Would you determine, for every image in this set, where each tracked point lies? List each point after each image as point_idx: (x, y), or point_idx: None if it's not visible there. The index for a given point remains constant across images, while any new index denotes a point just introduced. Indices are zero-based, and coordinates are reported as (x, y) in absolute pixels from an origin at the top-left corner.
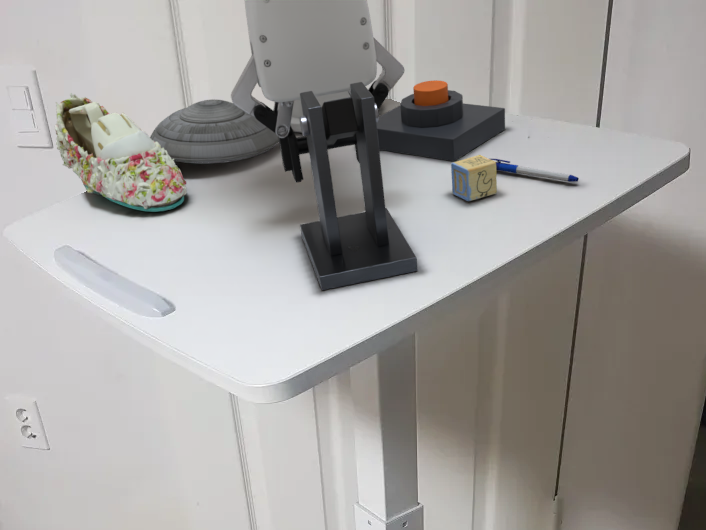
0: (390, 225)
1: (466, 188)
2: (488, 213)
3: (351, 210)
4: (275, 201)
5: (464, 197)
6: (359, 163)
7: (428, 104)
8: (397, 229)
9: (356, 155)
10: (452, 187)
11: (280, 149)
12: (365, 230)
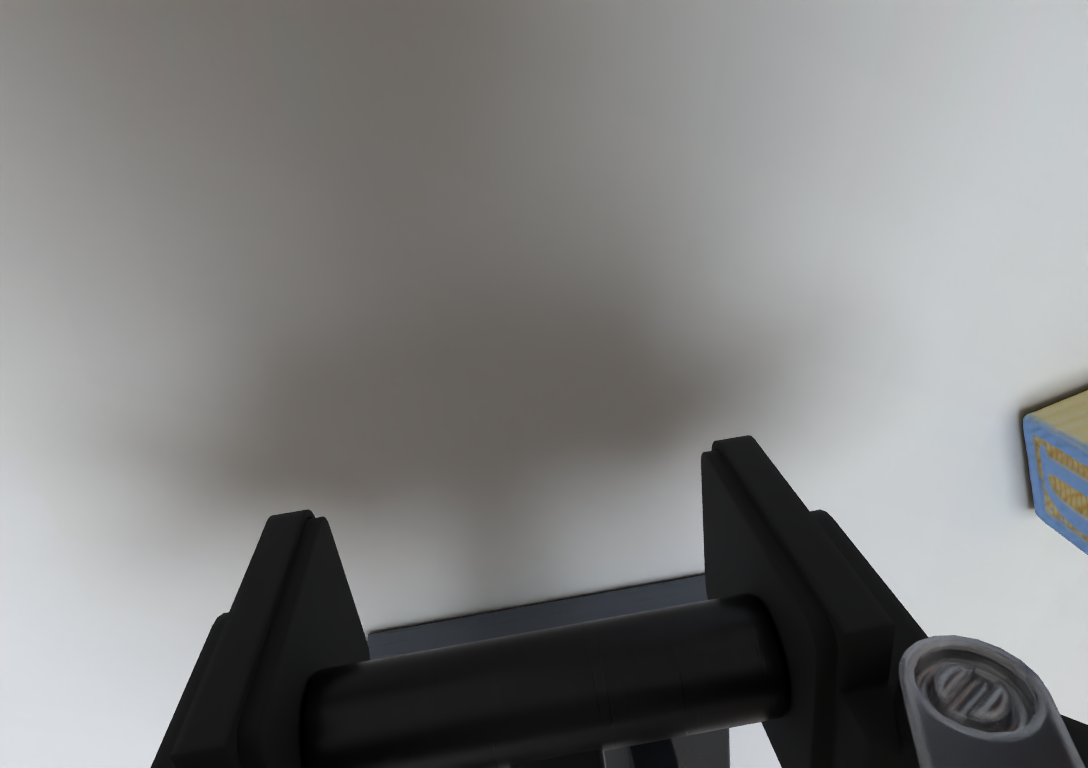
0: (707, 739)
1: (1073, 528)
2: (1045, 593)
3: (580, 447)
4: (158, 217)
5: (1038, 494)
6: (704, 524)
7: None
8: (723, 763)
9: (709, 475)
10: (1041, 430)
11: (185, 693)
12: (617, 756)
